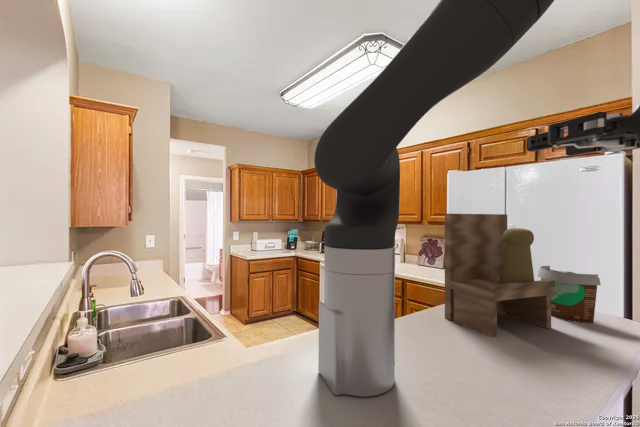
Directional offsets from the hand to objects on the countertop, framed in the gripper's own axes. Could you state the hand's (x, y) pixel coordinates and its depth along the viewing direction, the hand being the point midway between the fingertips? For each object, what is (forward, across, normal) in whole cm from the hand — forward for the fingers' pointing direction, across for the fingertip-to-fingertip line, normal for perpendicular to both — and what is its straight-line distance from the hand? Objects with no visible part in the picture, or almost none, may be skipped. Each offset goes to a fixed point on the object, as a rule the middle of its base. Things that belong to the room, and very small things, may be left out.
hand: (548, 147), depth 46 cm
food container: (+13, -23, +32) cm, 42 cm away
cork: (+12, -9, +24) cm, 28 cm away
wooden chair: (+13, -6, +32) cm, 35 cm away
